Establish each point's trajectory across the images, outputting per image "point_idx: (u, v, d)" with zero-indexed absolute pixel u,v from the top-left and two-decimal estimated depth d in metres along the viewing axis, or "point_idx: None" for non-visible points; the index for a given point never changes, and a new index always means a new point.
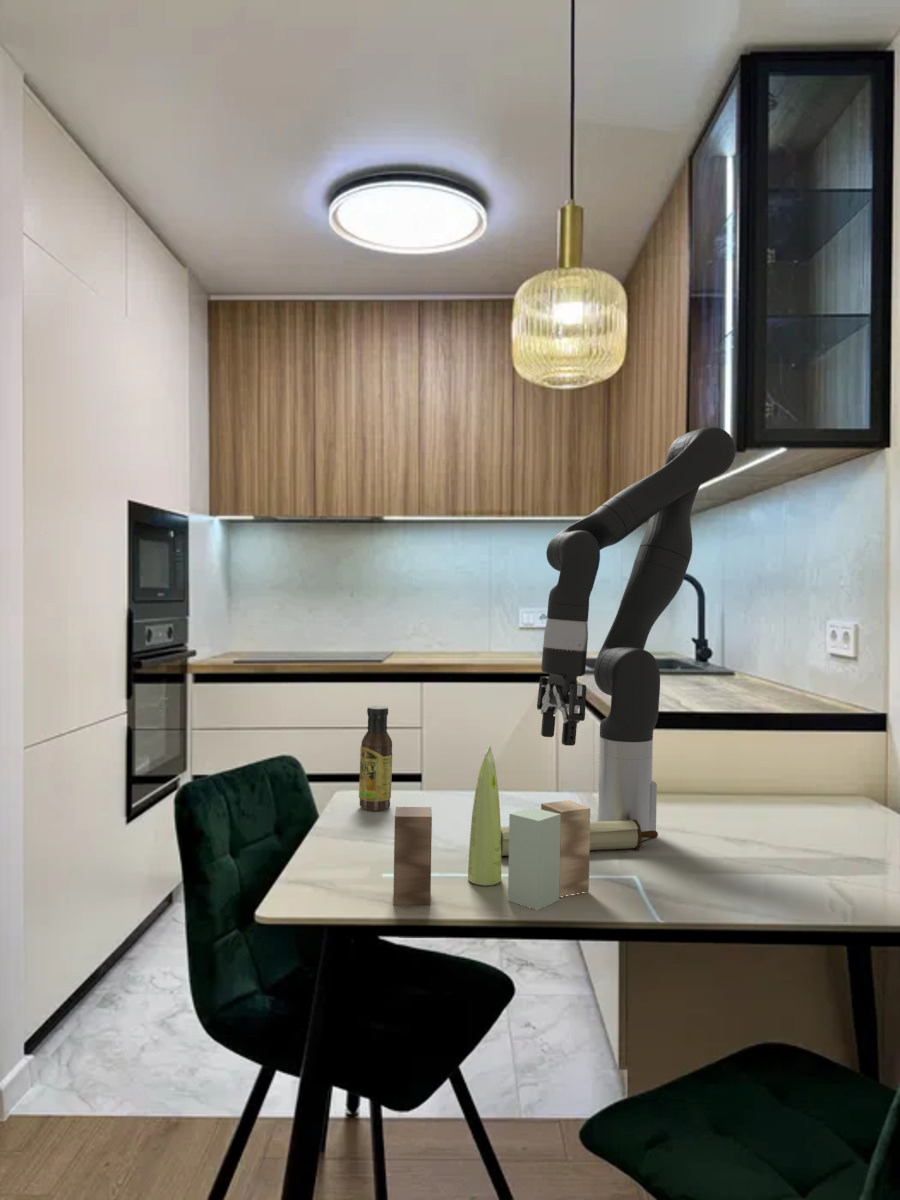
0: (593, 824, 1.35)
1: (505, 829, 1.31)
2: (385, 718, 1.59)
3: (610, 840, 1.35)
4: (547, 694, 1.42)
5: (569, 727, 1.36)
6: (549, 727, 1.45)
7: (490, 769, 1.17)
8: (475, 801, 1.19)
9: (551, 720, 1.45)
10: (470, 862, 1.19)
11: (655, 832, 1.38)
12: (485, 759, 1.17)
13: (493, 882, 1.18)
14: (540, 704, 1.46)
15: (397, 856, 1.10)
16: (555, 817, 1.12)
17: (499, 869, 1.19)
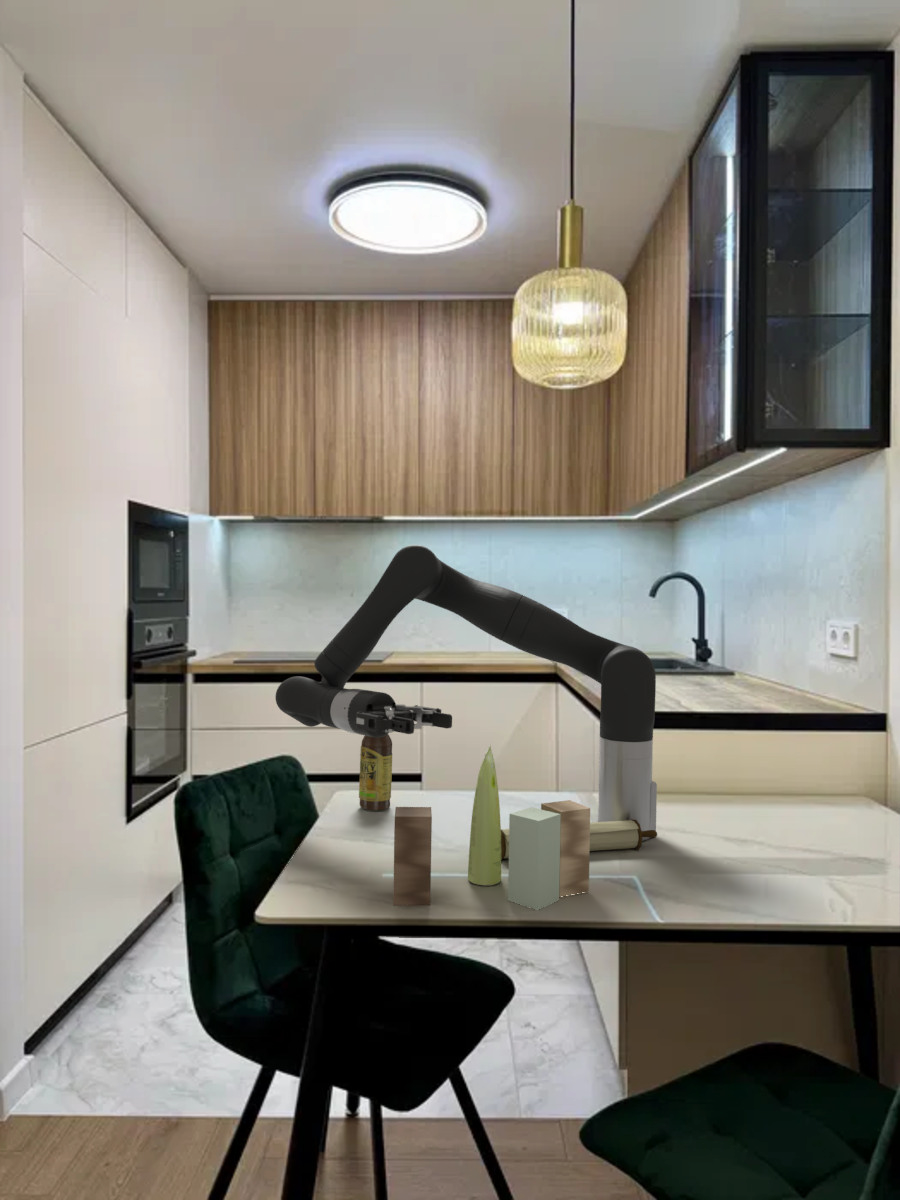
0: (594, 825, 1.35)
1: (508, 831, 1.30)
2: None
3: (611, 841, 1.34)
4: None
5: (393, 728, 1.26)
6: (441, 720, 1.32)
7: (490, 769, 1.17)
8: (475, 801, 1.19)
9: (435, 716, 1.33)
10: (470, 862, 1.19)
11: (654, 831, 1.38)
12: (485, 759, 1.17)
13: (493, 882, 1.18)
14: None
15: (397, 856, 1.10)
16: (555, 817, 1.12)
17: (499, 869, 1.19)
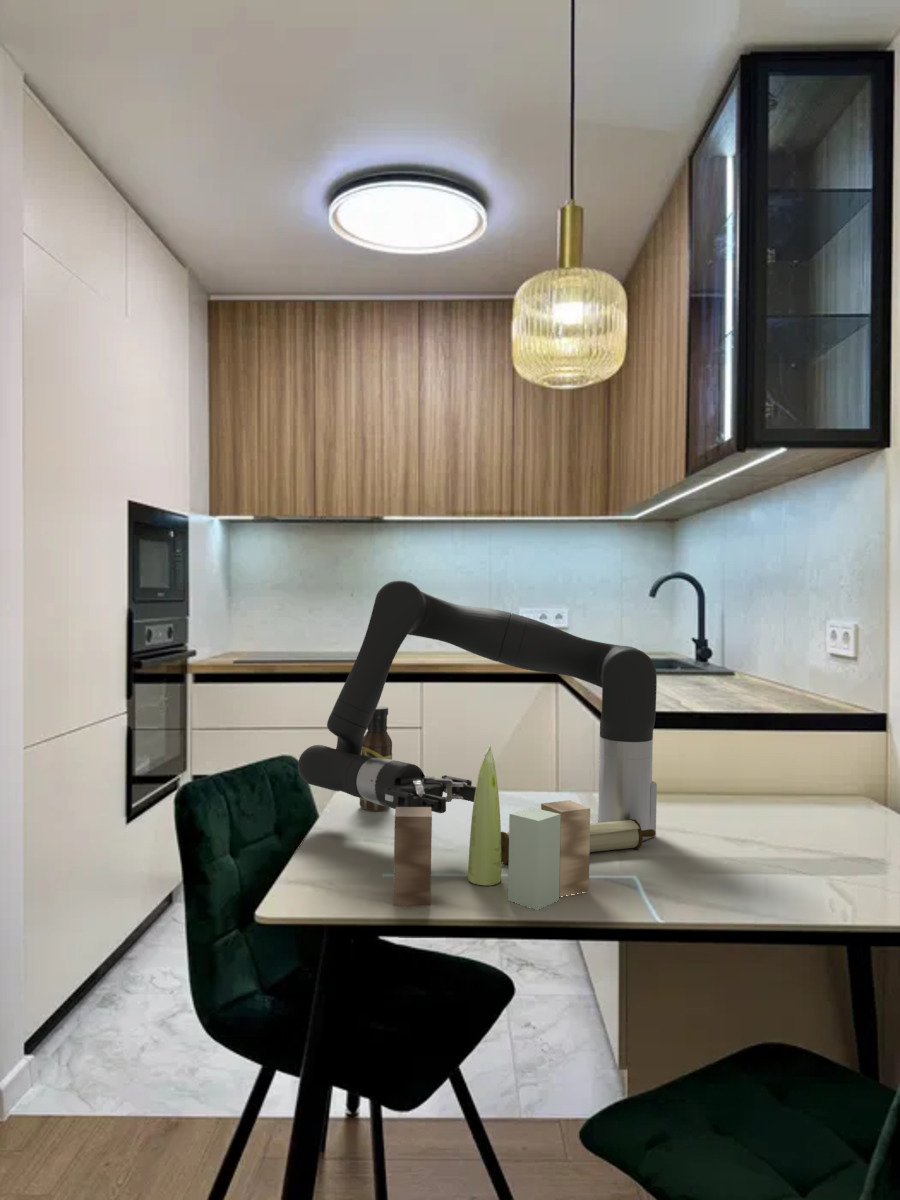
0: (596, 825, 1.35)
1: None
2: (385, 718, 1.59)
3: (613, 841, 1.34)
4: None
5: None
6: (472, 794, 1.27)
7: (490, 769, 1.17)
8: (475, 801, 1.19)
9: (466, 790, 1.28)
10: (470, 862, 1.19)
11: (653, 831, 1.38)
12: (485, 759, 1.17)
13: (493, 882, 1.18)
14: None
15: (397, 856, 1.10)
16: (555, 817, 1.12)
17: (499, 869, 1.19)
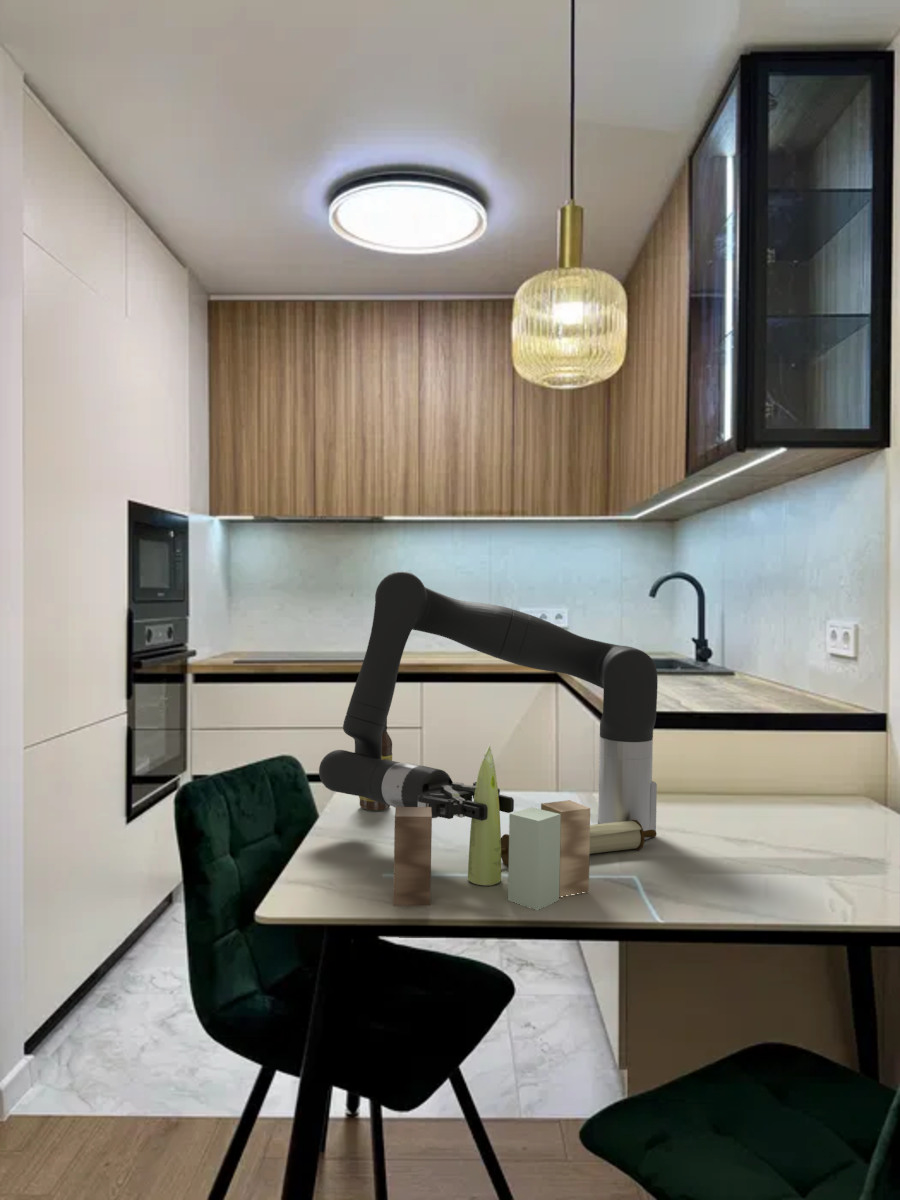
0: (598, 827, 1.34)
1: None
2: None
3: (615, 842, 1.34)
4: None
5: (464, 814, 1.18)
6: (502, 803, 1.22)
7: (490, 769, 1.17)
8: (475, 801, 1.18)
9: None
10: (470, 862, 1.19)
11: (654, 831, 1.38)
12: (484, 759, 1.16)
13: (493, 882, 1.18)
14: None
15: (397, 856, 1.10)
16: (555, 817, 1.12)
17: (499, 869, 1.19)
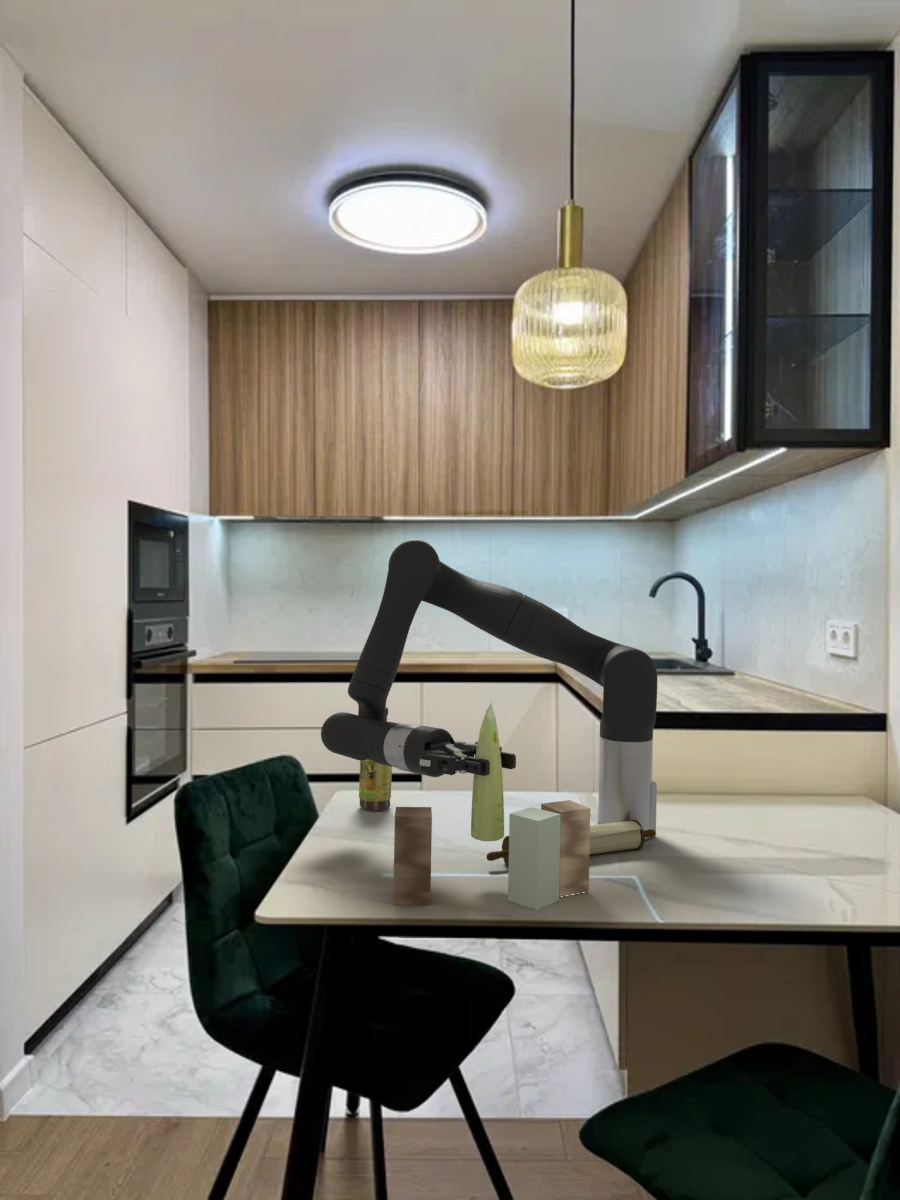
0: (599, 827, 1.34)
1: None
2: (385, 718, 1.59)
3: (616, 842, 1.33)
4: None
5: (467, 769, 1.18)
6: (504, 759, 1.21)
7: (491, 725, 1.17)
8: (477, 757, 1.18)
9: None
10: (473, 818, 1.19)
11: (653, 831, 1.38)
12: (486, 715, 1.16)
13: (496, 838, 1.18)
14: None
15: (397, 856, 1.10)
16: (555, 817, 1.12)
17: (502, 825, 1.19)
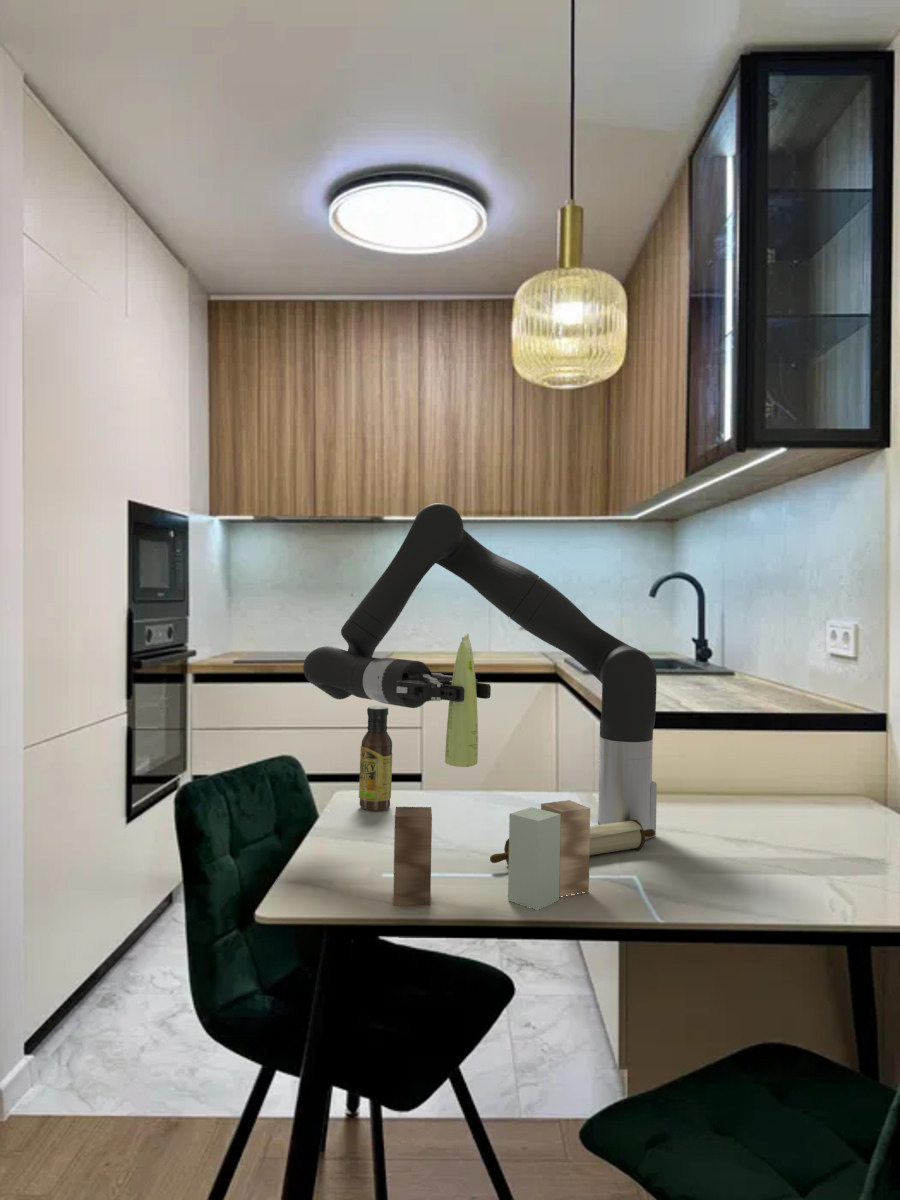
0: (600, 827, 1.33)
1: None
2: (385, 718, 1.59)
3: (617, 843, 1.33)
4: None
5: (442, 696, 1.21)
6: (479, 689, 1.25)
7: (467, 653, 1.20)
8: None
9: None
10: (447, 745, 1.22)
11: (652, 830, 1.39)
12: (462, 642, 1.19)
13: (469, 764, 1.21)
14: None
15: (397, 856, 1.10)
16: (555, 817, 1.12)
17: (475, 752, 1.22)
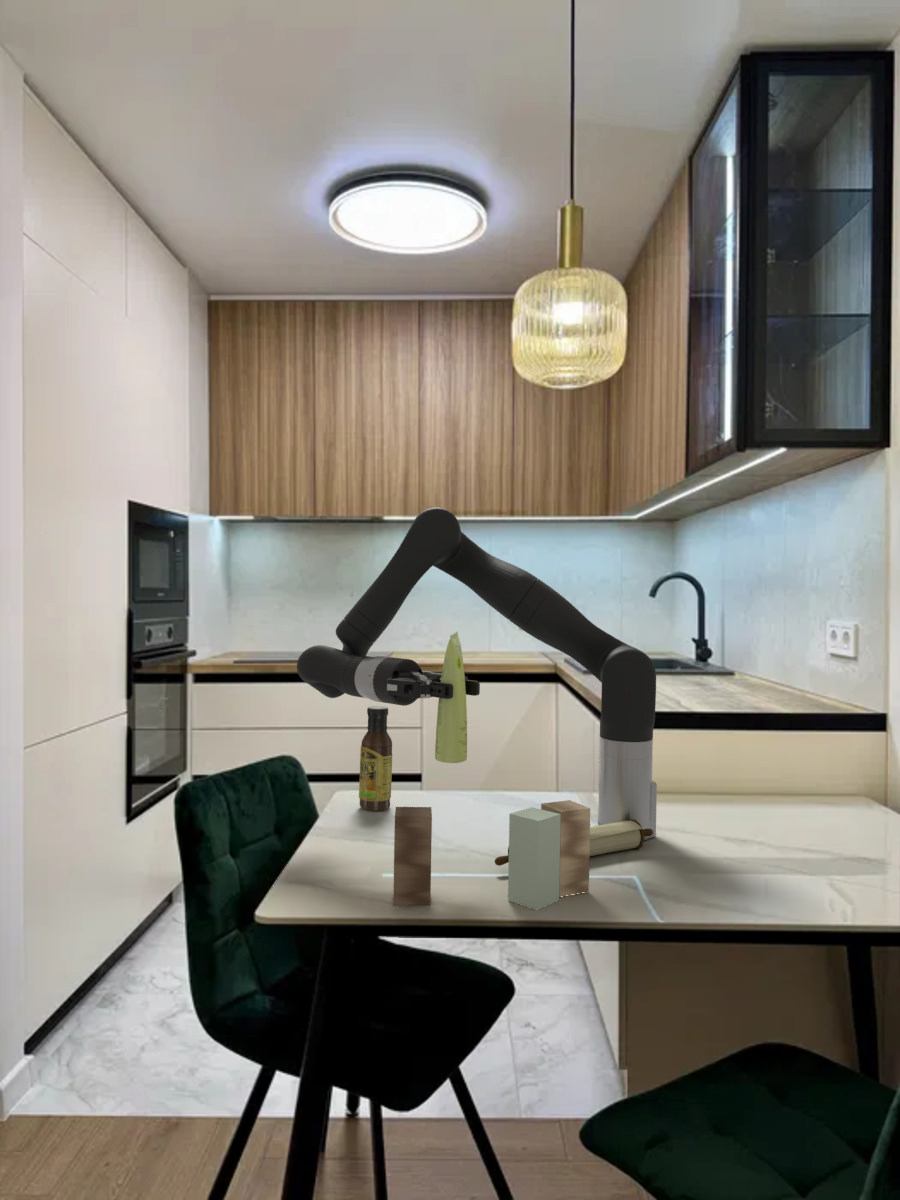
0: (601, 828, 1.33)
1: None
2: (385, 718, 1.59)
3: (618, 843, 1.33)
4: None
5: (431, 693, 1.22)
6: (468, 687, 1.26)
7: (455, 650, 1.22)
8: (441, 682, 1.23)
9: None
10: (437, 741, 1.24)
11: (651, 830, 1.39)
12: (450, 640, 1.21)
13: (458, 760, 1.23)
14: None
15: (397, 856, 1.10)
16: (555, 817, 1.12)
17: (465, 748, 1.24)
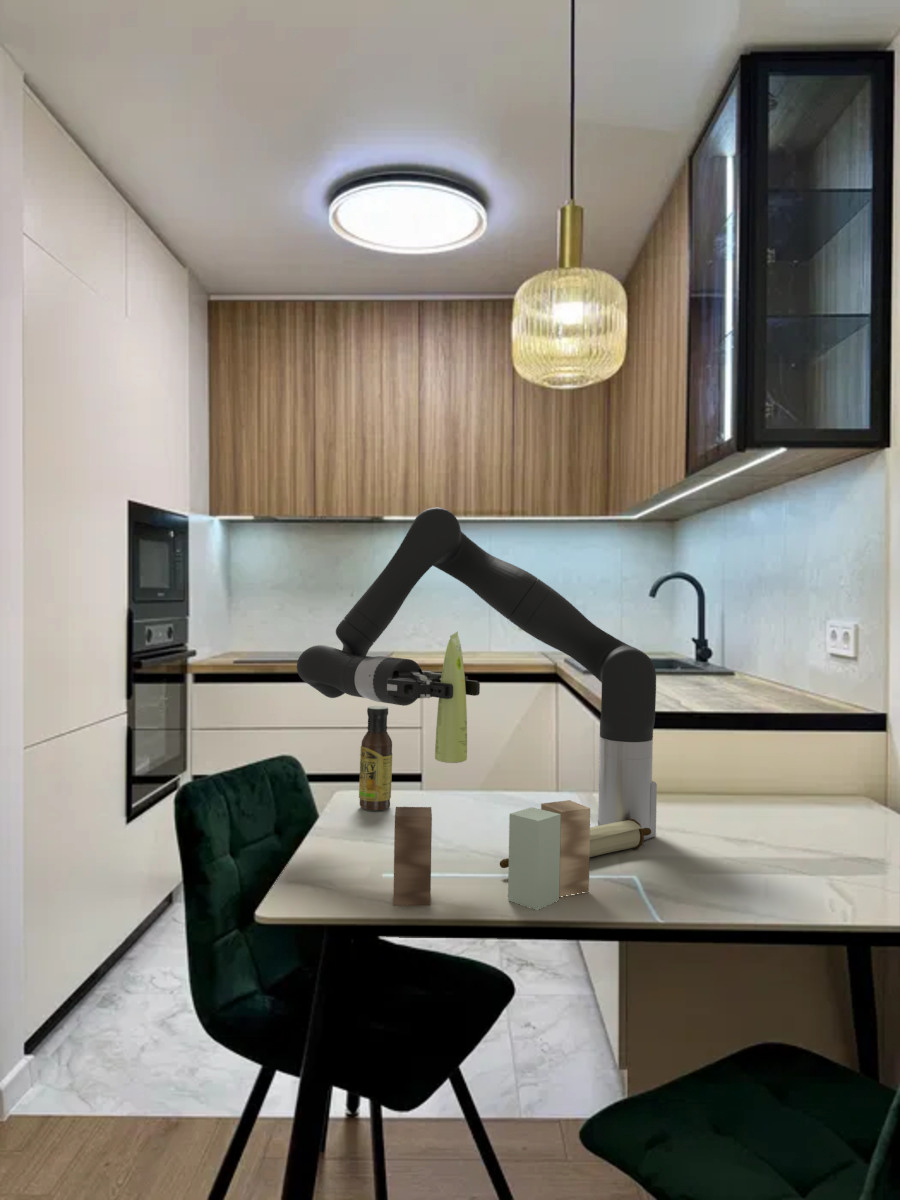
0: (602, 828, 1.33)
1: None
2: (385, 718, 1.59)
3: (619, 843, 1.33)
4: None
5: (431, 693, 1.22)
6: (468, 687, 1.26)
7: (455, 650, 1.22)
8: (441, 682, 1.23)
9: None
10: (437, 741, 1.24)
11: (649, 829, 1.39)
12: (450, 640, 1.21)
13: (458, 760, 1.23)
14: None
15: (397, 856, 1.10)
16: (555, 817, 1.12)
17: (465, 748, 1.24)
